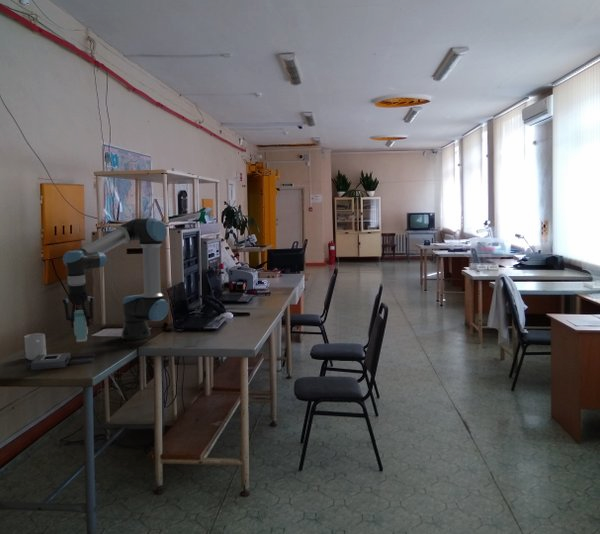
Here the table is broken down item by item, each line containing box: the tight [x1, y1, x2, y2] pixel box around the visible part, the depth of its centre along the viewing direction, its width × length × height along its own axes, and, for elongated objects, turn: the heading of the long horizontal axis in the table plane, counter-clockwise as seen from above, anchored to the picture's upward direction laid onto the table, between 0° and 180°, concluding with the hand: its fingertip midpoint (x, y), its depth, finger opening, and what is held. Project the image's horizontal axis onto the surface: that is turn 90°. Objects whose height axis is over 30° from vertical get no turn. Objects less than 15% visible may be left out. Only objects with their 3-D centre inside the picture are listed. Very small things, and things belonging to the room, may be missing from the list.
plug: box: [74, 309, 88, 343], centre depth 254 cm, size 4×4×14 cm
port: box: [30, 352, 71, 371], centre depth 250 cm, size 14×14×4 cm
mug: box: [23, 332, 47, 361], centre depth 261 cm, size 12×9×11 cm
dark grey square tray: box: [68, 353, 96, 365], centre depth 255 cm, size 10×10×2 cm
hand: (81, 334), depth 254 cm, fingers closed on plug, 4 cm apart
